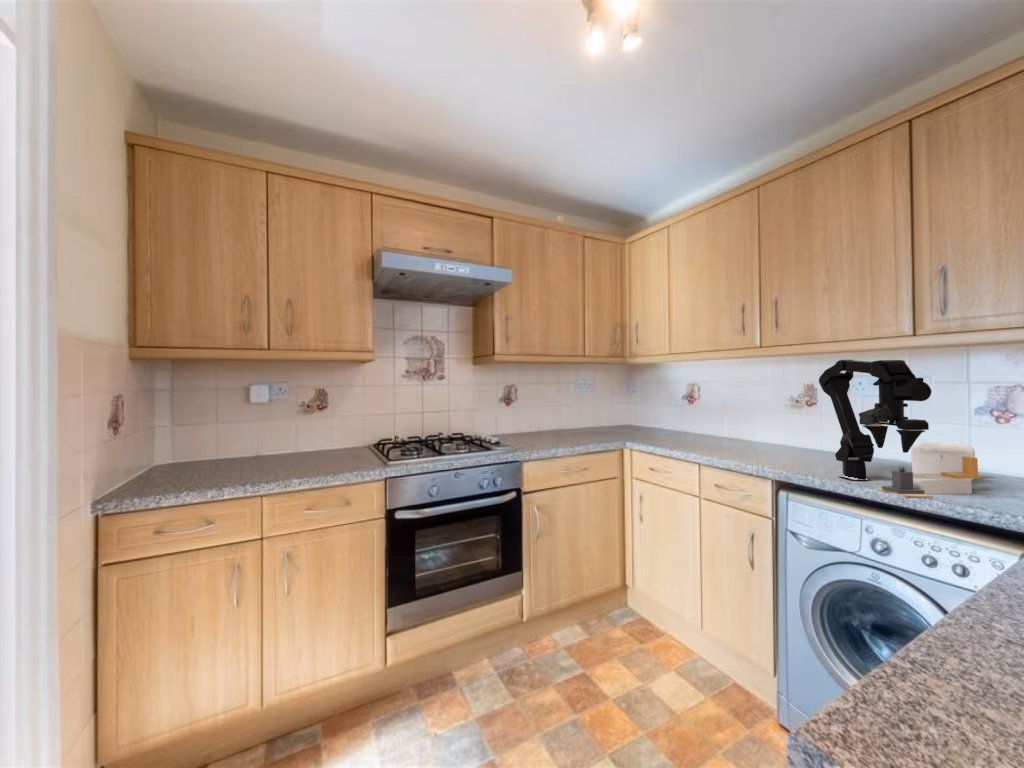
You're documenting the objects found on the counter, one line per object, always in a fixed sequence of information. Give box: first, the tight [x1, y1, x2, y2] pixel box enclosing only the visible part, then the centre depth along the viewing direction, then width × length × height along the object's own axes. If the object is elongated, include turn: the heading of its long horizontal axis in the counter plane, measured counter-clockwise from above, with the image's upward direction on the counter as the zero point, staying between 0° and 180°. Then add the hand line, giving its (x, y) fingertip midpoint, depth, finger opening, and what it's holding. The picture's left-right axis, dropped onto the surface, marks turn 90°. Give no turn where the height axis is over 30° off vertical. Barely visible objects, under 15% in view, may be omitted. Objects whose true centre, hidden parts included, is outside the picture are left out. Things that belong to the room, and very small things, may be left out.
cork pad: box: [875, 487, 933, 499], centre depth 124 cm, size 11×7×1 cm, turn 177°
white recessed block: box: [913, 473, 973, 495], centre depth 127 cm, size 10×14×4 cm
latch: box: [941, 457, 983, 479], centre depth 127 cm, size 5×7×6 cm
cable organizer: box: [910, 442, 976, 481], centre depth 143 cm, size 15×11×12 cm
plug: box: [881, 465, 925, 494], centre depth 124 cm, size 6×7×8 cm
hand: (892, 450), depth 129 cm, fingers open, 9 cm apart
